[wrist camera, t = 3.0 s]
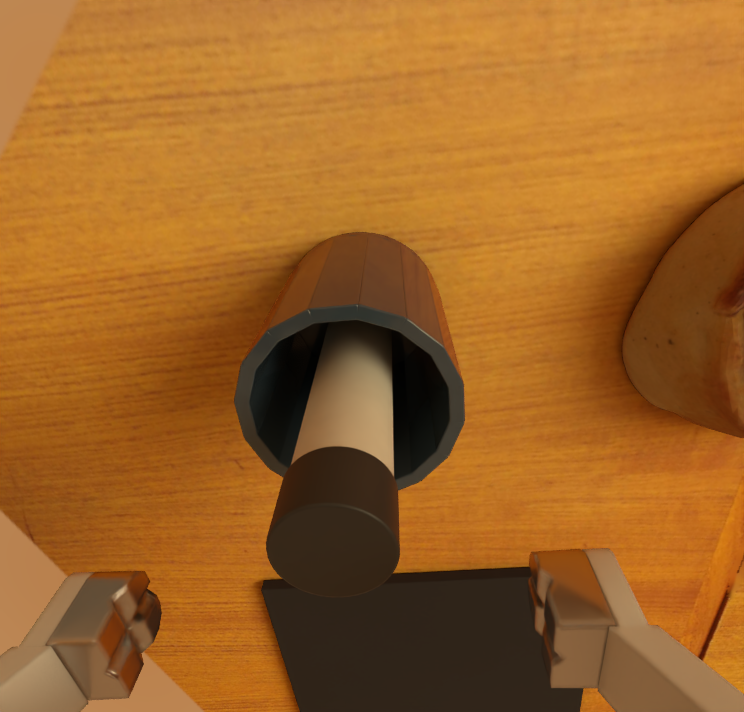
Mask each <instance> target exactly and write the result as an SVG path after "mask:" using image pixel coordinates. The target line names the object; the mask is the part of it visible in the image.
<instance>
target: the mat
mask: <svg viewBox="0 0 744 712" xmlns="http://www.w3.org/2000/svg"><path fill="white" fill-rule="evenodd" d="M531 576H532V573H531V570H530V567H523V568H503V569H483V570H463V571H443V572H423V573H403V574H392V575H391V576H390V577H389V578H388V579H387V580H386V581H385V582H384V583H383V584H381V585H380V586H378V587H377V588H375V589H373V590H371V591H368V592H366V593H363V594H359V595H355V596H350V597H325V596H319V595H315V594H311V593H308V592H305V591H302V590H300V589H298V588H296V587H294V586H292V585H291V584H289V583H288V582H286V581H285V580H284V579H283V580H265V581H264V582H263V586H262V589H261V591H262V594H263V597H264V600H265V603H266V607H267V610H268V613H269V616H270V619H271V622H272V625H273V628H274V632H275V635H276V638H277V641H278V644H279V647H280V650H281V654H282V657H283V660H284V663H285V666H286V669H287V672H288V675H289V679H290V682H291V685H292V688H293V691H294V694H295V697H296V701H297V704H298V707H299V710H300V712H580V706H581V700H582V694H583V688H551V686H550V682H549V679H548V675H547V672H546V668H545V664H544V661H543V657H542V654H541V646H542V636H541V635H540V634H539V633H538V632H537V631H536V630H535V628H534V624H533V620H532V616H531V611H530V606H529V597H528V579H529V578H530V577H531Z"/></svg>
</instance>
